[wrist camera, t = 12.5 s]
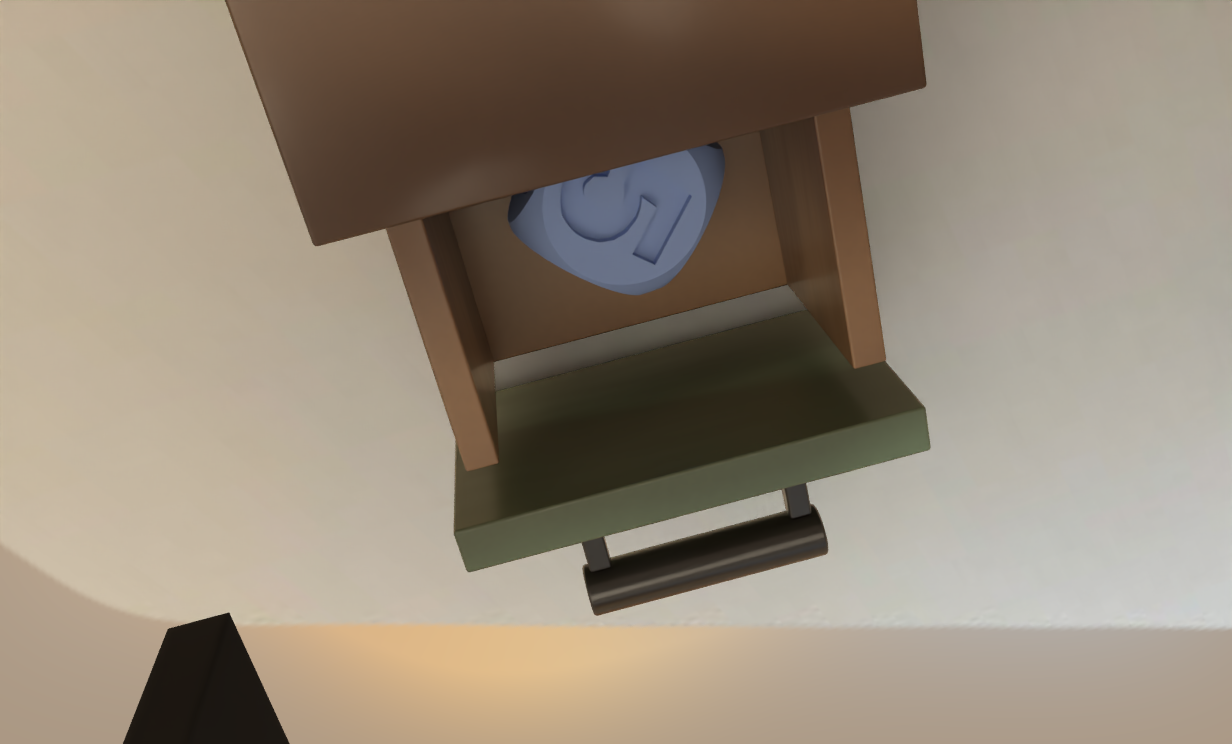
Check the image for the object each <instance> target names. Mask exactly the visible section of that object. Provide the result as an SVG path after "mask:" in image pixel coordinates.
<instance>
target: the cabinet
mask: <svg viewBox="0 0 1232 744" xmlns="http://www.w3.org/2000/svg"><path fill="white" fill-rule="evenodd" d="M225 2H226V5H227V7H228V10H229V13H230V16H231V18H232V21H233V24H234V27H235V29H236V32H237V35H238V38H239V41H240V43H241V46H242V49H243V52H244V54H245V57H246V60H247V63H248V65H249V68H250V71H251V74H252V77H253V79H254V82H255V85H256V88H257V90H258V93H259V96H260V99H261V102H262V104H263V107H264V110H265V113H266V115H267V118H268V121H269V124H270V126H271V129H272V132H273V135H274V138H275V140H276V143H277V146H278V149H279V151H280V154H281V157H282V160H283V162H284V165H285V168H286V171H287V174H288V176H289V179H290V182H291V185H292V187H293V190H294V193H295V196H296V198H297V201H298V204H299V207H300V210H301V212H302V215H303V218H304V221H305V223H306V226H307V229H308V232H309V234H310V237H311V240H312V243H313V244H314V245H315V246H321V245H325V244H328V243H332V242H336V241H340V240H344V239H348V238H351V237H355V236H359V235H363V234H367V233H371V232H374V231H378V230H382V229H386V228H390V227H394V226H397V225H401V224H405V223H409V222H413V221H416V220H420V219H424V218H428V217H432V216H436V215H439V214H443V213H447V212H451V211H455V210H459V209H462V208H466V207H470V206H474V205H478V204H482V203H485V202H489V201H493V200H497V199H501V198H505V197H508V196H512V195H516V194H520V193H524V192H528V191H531V190H535V189H539V188H543V187H547V186H551V185H554V184H558V183H562V182H566V181H570V180H574V179H577V178H581V177H585V176H589V175H593V174H597V173H600V172H604V171H608V170H612V169H616V168H620V167H623V166H627V165H631V164H635V163H639V162H643V161H646V160H650V159H654V158H658V157H662V156H666V155H669V154H673V153H677V152H681V151H685V150H688V149H692V148H696V147H700V146H704V145H708V144H711V143H715V142H719V141H723V140H727V139H731V138H734V137H738V136H742V135H746V134H750V133H754V132H757V131H761V130H765V129H769V128H773V127H777V126H780V125H784V124H788V123H792V122H796V121H800V120H803V119H807V118H811V117H815V116H819V115H823V114H826V113H830V112H834V111H838V110H842V109H846V108H849V107H853V106H857V105H861V104H865V103H869V102H872V101H876V100H880V99H884V98H888V97H892V96H895V95H899V94H903V93H907V92H911V91H915V90H918V89H922V88H924V87H926V75H925V67H924V58H923V50H922V41H921V32H920V24H919V15H918V7H917V0H225Z"/></svg>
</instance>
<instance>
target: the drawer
mask: <svg viewBox="0 0 1232 744" xmlns="http://www.w3.org/2000/svg"><path fill="white" fill-rule="evenodd" d="M717 143H718V144H719V145H720V146H721V147H722V150H723V153H724V157H725V172H724V178H723V183H722V187H721V191H720V194H719V197H718V200H717V203H716V206H715V208H714V211H713V214H712V216H711V218H710V221H709V223H708V225H707V227H706V229H705V231H704V233H703V235H702V237H701V239H700V241H699V243H698V245H697V246H696V248H695V250H694V251H693V253H692V255H691V256H690V258H689V259H688V261H687V262H686V264H685V265H684V266H683V268H682V269H681V270H680V271H679V273H678V274H677V275H676V276H675V277H674V278H673V279H672V280H671V281H670V282H669V283H668V284H667V285H665V286H664V287H662V288H659V289H656V290H654V291H651V292H648V293H645V294H642V295H628V294H623V293H619V292H615V291H612V290H609V289H606V288H603V287H600V286H598V285H595V284H593V283H590V282H588V281H586V280H584V279H581V278H579V277H577V276H575V275H573V274H571V273H569V272H567V271H565V270H563V269H562V268H560V267H558V266H556V265H555V264H553V263H551V262H550V261H548V260H546V259H545V258H543V257H542V256H540V255H539V254H537V253H536V252H535V251H533V250H532V249H530V248H529V247H528V246H527V245H525V244H524V243H523V242H522V241H521V240H520V239H519V238H518V237H517V236H516V235H515V234H514V233H513V231H512V229H511V228H510V225H509V222H508V210H509V205H510V201H511V197H512V196H508V197H505V198H501V199H497V200H493V201H489V202H485V203H482V204H478V205H474V206H470V207H466V208H462V209H459V210H455V211H451V212H447V213H443V214H439V215H436V216H432V217H428V218H424V219H420V220H416V221H413V222H409V223H405V224H401V225H397V226H394V227H390V228H386V231H387V234H388V237H389V240H390V243H391V246H392V249H393V252H394V255H395V258H396V261H397V264H398V267H399V270H400V273H401V276H402V279H403V282H404V285H405V288H406V291H407V294H408V297H409V300H410V303H411V306H412V309H413V312H414V315H415V318H416V321H417V324H418V328H419V331H420V334H421V337H422V340H423V343H424V346H425V349H426V352H427V355H428V358H429V361H430V364H431V367H432V370H433V373H434V376H435V379H436V382H437V385H438V388H439V391H440V394H441V397H442V400H443V403H444V406H445V409H446V412H447V415H448V418H449V421H450V424H451V427H452V430H453V433H454V436H455V439H456V445H455V494H454V536H455V539H456V542H457V545H458V547H459V550H460V553H461V556H462V559H463V562H464V565H465V568H466V570H467V571H468V572H473V571H476V570H480V569H484V568H488V567H491V566H495V565H499V564H503V563H506V562H510V561H514V560H518V559H521V558H525V557H529V556H533V555H537V554H540V553H544V552H548V551H552V550H555V549H559V548H563V547H567V546H570V545H574V544H578V543H582V546H583V549H584V552H585V556H586V559H587V563H588V564H585V565H583V568H582V569H583V575H584V580H585V584H586V588H587V592H588V596H589V600H590V603H591V607H592V610H593V613H594V614H595V615H597V616H598V615H602V614H605V613H609V612H613V611H617V610H620V609H624V608H628V607H632V606H635V605H639V604H643V603H647V602H650V601H654V600H658V599H662V598H665V597H669V596H673V595H677V594H680V593H684V592H688V591H692V590H695V589H699V588H703V587H707V586H710V585H714V584H718V583H721V582H725V581H729V580H733V579H736V578H740V577H744V576H748V575H751V574H755V573H759V572H763V571H766V570H770V569H774V568H778V567H781V566H785V565H789V564H793V563H796V562H800V561H804V560H808V559H811V558H815V557H819V556H822V555H826V554H827V553H828V542H827V537H826V533H825V529H824V526H823V522H822V520H821V517H820V514H819V512H818V510H817V508H816V507H815V506H814V505H813V504H810V501H809V495H808V490H807V485H806V483H807V482H811V481H815V480H818V479H822V478H826V477H830V476H833V475H837V474H841V473H845V472H848V471H852V470H856V469H860V468H863V467H867V466H871V465H875V464H878V463H882V462H886V461H890V460H893V459H897V458H901V457H905V456H908V455H912V454H916V453H920V452H923V451H927V450H929V449H930V439H929V431H928V424H927V416H926V409H925V407H924V406H923V404H922V403H921V402H920V401H919V400H918V399H917V397H916V396H915V395H914V394H913V393H912V392H911V390H910V389H909V388H908V387H907V386H906V385H905V384H904V382H903V381H902V380H901V379H900V378H899V377H898V375H897V374H896V373H895V372H894V371H893V370H892V369H891V367H890V366H889V365H888V364H887V363H886V362H885V360H886V354H885V348H884V341H883V334H882V327H881V320H880V313H879V306H878V300H877V293H876V286H875V279H874V272H873V265H872V258H871V251H870V245H869V238H868V231H867V224H866V217H865V210H864V203H863V196H862V190H861V183H860V176H859V169H858V162H857V155H856V148H855V142H854V135H853V128H852V121H851V114H850V107H849V108H846V109H842V110H838V111H834V112H830V113H826V114H823V115H819V116H815V117H811V118H807V119H803V120H800V121H796V122H792V123H788V124H784V125H780V126H777V127H773V128H769V129H765V130H761V131H757V132H754V133H750V134H746V135H742V136H738V137H734V138H731V139H727V140H723V141H719V142H717ZM784 285H788V286H789V287H790V288H791V290H792V291H793V292H794V293H795V295H796V296H797V297H798V298H799V300H800V301H801V302H802V303H803V305H804V306H805V307H806V309H807V310H803V311H799V312H795V313H792V314H788V315H784V316H780V317H776V318H773V319H769V320H765V321H761V322H757V323H754V324H750V325H746V326H742V327H738V328H735V329H731V330H727V331H723V332H720V333H716V334H712V335H708V336H704V337H701V338H697V339H693V340H689V341H685V342H682V343H678V344H674V345H670V346H666V347H663V348H659V349H655V350H651V351H647V352H644V353H640V354H636V355H632V356H629V357H625V358H621V359H617V360H613V361H610V362H606V363H602V364H598V365H594V366H591V367H587V368H583V369H579V370H575V371H572V372H568V373H564V374H560V375H556V376H553V377H549V378H545V379H541V380H538V381H534V382H530V383H526V384H522V385H519V386H515V387H511V388H507V389H503V390H500V391H496V392H495V374H494V362H495V361H499V360H503V359H507V358H511V357H514V356H518V355H522V354H526V353H530V352H533V351H537V350H541V349H545V348H549V347H552V346H556V345H560V344H564V343H568V342H571V341H575V340H579V339H583V338H587V337H590V336H594V335H598V334H602V333H606V332H609V331H613V330H617V329H621V328H625V327H628V326H632V325H636V324H640V323H644V322H647V321H651V320H655V319H659V318H662V317H666V316H670V315H674V314H678V313H681V312H685V311H689V310H693V309H697V308H700V307H704V306H708V305H712V304H716V303H719V302H723V301H727V300H731V299H735V298H738V297H742V296H746V295H750V294H754V293H757V292H761V291H765V290H769V289H773V288H776V287H780V286H784ZM781 489H782V494H783V499H784V504H785V508H786V510H787V511H784V512H780V513H776V514H772V515H769V516H765V517H761V518H757V519H754V520H750V521H746V522H742V523H739V524H735V525H731V526H727V527H724V528H720V529H716V530H712V531H709V532H705V533H701V534H697V535H694V536H690V537H686V538H682V539H679V540H675V541H671V542H667V543H664V544H660V545H656V546H652V547H649V548H645V549H641V550H637V551H634V552H630V553H626V554H622V555H619V556H615V557H611V558H610V555H609V551H608V548H607V544H606V541H605V537H604V536H608V535H612V534H615V533H619V532H623V531H627V530H630V529H634V528H638V527H642V526H645V525H649V524H653V523H657V522H660V521H664V520H668V519H672V518H676V517H679V516H683V515H687V514H691V513H694V512H698V511H702V510H706V509H709V508H713V507H717V506H721V505H724V504H728V503H732V502H736V501H739V500H743V499H747V498H751V497H754V496H758V495H762V494H766V493H769V492H773V491H777V490H781Z"/></svg>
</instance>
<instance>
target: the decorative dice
mask: <svg viewBox="0 0 1232 744" xmlns="http://www.w3.org/2000/svg"><path fill="white" fill-rule="evenodd" d="M724 172H725V157H724V153H723V150H722V147H721V146H720V145H719V144H718V143H717V142H715V143H711V144H708V145H704V146H700V147H696V148H692V149H688V150H685V151H681V152H677V153H673V154H669V155H666V156H662V157H658V158H654V159H650V160H646V161H643V162H639V163H635V164H631V165H627V166H623V167H620V168H616V169H612V170H608V171H604V172H600V173H597V174H593V175H589V176H585V177H581V178H577V179H574V180H570V181H566V182H562V183H558V184H554V185H551V186H547V187H543V188H539V189H535V190H531V191H528V192H524V193H520V194H516V195H512V197H511V201H510V205H509V210H508V222H509V225H510V228H511V229H512V231H513V233H514V234H515V235H516V236H517V237H518V238H519V239H520V240H521V241H522V242H523V243H524V244H525V245H527V246H528V247H529V248H530V249H532V250H533V251H535V252H536V253H537V254H539V255H540V256H542V257H543V258H545V259H546V260H548V261H550V262H551V263H553V264H555V265H556V266H558V267H560V268H562V269H563V270H565V271H567V272H569V273H571V274H573V275H575V276H577V277H579V278H581V279H584V280H586V281H588V282H590V283H593V284H595V285H598V286H600V287H603V288H606V289H609V290H612V291H615V292H619V293H623V294H628V295H642V294H645V293H648V292H651V291H654V290H656V289H659V288H662V287H664V286H665V285H667V284H668V283H669V282H670V281H671V280H672V279H673V278H674V277H675V276H676V275H677V274H678V273H679V271H680V270H681V269H682V268H683V266H684V265H685V264H686V262H687V261H688V259H689V258H690V256H691V255H692V253H693V251H694V250H695V248H696V246H697V245H698V243H699V241H700V239H701V237H702V235H703V233H704V231H705V229H706V227H707V225H708V223H709V221H710V218H711V216H712V214H713V211H714V208H715V206H716V203H717V200H718V197H719V194H720V191H721V187H722V183H723V178H724Z"/></svg>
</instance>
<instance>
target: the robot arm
mask: <svg viewBox="0 0 1232 744" xmlns="http://www.w3.org/2000/svg"><path fill="white" fill-rule="evenodd" d="M123 744H289V742H288V739H287V737H286V735H285V733H284V731H283V729H282V726H281V724H280V722H279V720H278V718H277V716H276V713H275V712H274V709H273V707H272V705H271V702H270V700H269V698H268V696H267V694H266V692H265V689H264V687H263V685H262V683H261V681H260V679H259V676H258V674H257V672H256V670H255V668H254V666H253V663H252V661H251V659H250V657H249V655H248V653H247V651H246V648H245V646H244V644H243V642H242V640H241V637H240V635H239V633H238V631H237V629H236V626H235V624H234V622H233V620H232V618H231V615H230V613H225V614H222V615H218V616H214V617H210V618H207V619H203V620H199V621H195V622H192V623H188V624H184V625H181V626H177V627H174V628H169V629H168V630H167V633H166V635H165V638H164V640H163V643H162V645H161V648H160V650H159V653H158V655H157V658H156V661H155V663H154V666H153V668H152V671H151V673H150V676H149V678H148V682H147V684H146V686H145V689H144V691H143V694H142V697H141V699H140V701H139V704H138V707H137V709H136V712H135V714H134V717H133V719H132V722H131V724H130V727H129V730H128V732H127V735H126V737H125V740H124V742H123Z"/></svg>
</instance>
